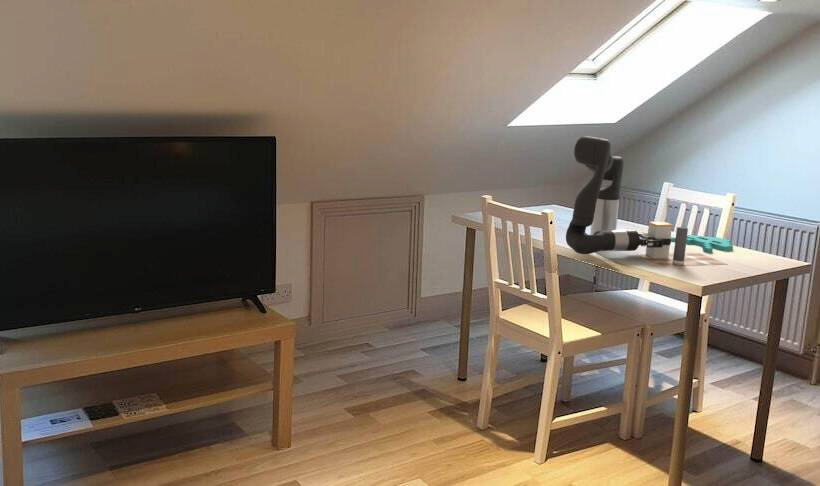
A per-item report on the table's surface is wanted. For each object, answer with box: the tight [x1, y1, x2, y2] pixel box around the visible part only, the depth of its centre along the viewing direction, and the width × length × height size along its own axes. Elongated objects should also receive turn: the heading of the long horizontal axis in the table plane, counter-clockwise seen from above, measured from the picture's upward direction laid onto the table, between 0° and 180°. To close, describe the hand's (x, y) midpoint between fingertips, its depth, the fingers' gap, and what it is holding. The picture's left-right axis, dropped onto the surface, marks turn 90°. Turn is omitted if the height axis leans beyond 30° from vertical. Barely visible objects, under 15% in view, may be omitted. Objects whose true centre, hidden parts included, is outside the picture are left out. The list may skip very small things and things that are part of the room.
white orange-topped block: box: [645, 221, 673, 258], centre depth 287 cm, size 5×6×12 cm
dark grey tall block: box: [672, 226, 689, 267], centre depth 276 cm, size 4×4×12 cm
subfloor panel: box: [636, 252, 729, 268], centre depth 285 cm, size 17×25×2 cm
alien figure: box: [671, 234, 734, 254], centre depth 316 cm, size 20×2×20 cm
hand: (664, 239), depth 287 cm, fingers open, 7 cm apart
